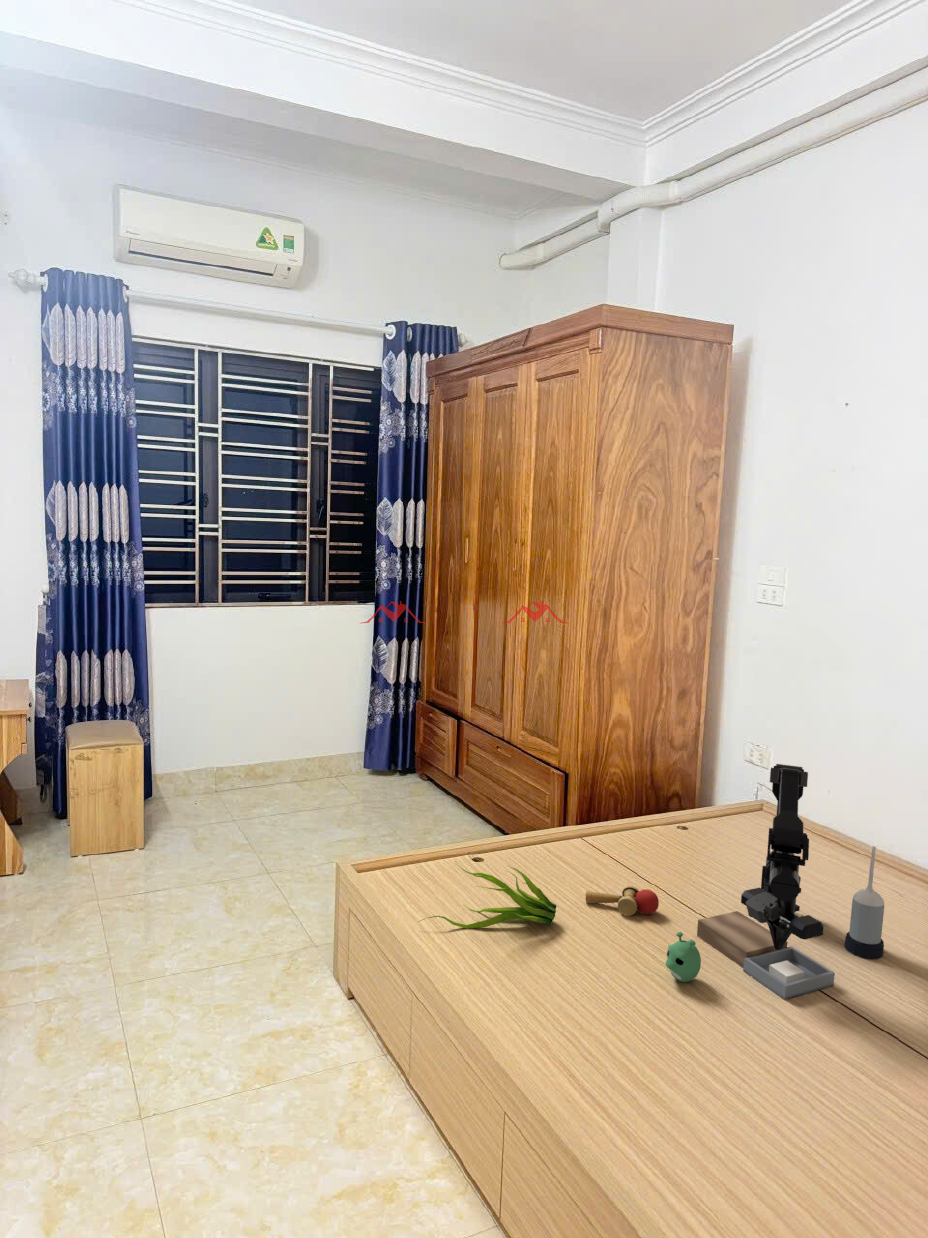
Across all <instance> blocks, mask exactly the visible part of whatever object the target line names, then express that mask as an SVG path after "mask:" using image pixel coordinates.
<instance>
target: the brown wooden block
mask: <svg viewBox="0 0 928 1238" xmlns="http://www.w3.org/2000/svg"><path fill="white" fill-rule="evenodd" d="M696 936H697V937H698V938H699V939H701V940H703V941H704V942H705V943H706V944H708V945H709V944H710V945H709V946H711V947H713V949H715V950H716V951H718V952H719V953H721V954H723V955H724V956H725V957H727V958H729V959H730V960H731V961H733V962H734V963H735V964H737V965H738V966H739V967H741V968H743V967H744V958H747V957H751V956H755V955H759V954H763V953H767V952H771V951H775V950H776V949H775V948H774V944H773V941H772V937H771V933H770V930H769V929H767V928H766V927H764V926H762V925H761V924H759V922H756V921H754V920H752V919H751V918H750V917H749V916H746V915H744V914H743V913H741V912H739V911H738V910H736V911H732V912H731V911H730V912H726V913H723V914H722V913H721V914H718V915H713V916H710V917H705V918H701V919H698V920H697V929H696ZM787 947H788V940H787V941H786V942H785V944H784V945H783V947H782V948H781V949H783V948H787Z"/></svg>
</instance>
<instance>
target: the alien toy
mask: <svg viewBox="0 0 928 1238" xmlns="http://www.w3.org/2000/svg"><path fill="white" fill-rule="evenodd" d="M675 937H678V940H676V941H675V942H673V944H668V947H667V949H668V950H667V951H666V956H667V957H666V961H665V966H666V967H667V968H668V969H669V971H670V974H671V976H672V977H673V978H674V979H675V980H677V981H679V982H683V983H687V982H691V981H693V980H695V978H696V977H697V976H698V974H699V973H700V970H701V967H702V960H701V958H702V957H701V954H700V951H699V949H698V948H697V946H696V942H695V940H693V939H689V940H684V939H682V937H684V933H683V932H682V931H677V932H676V934H675Z"/></svg>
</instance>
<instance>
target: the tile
mask: <svg viewBox="0 0 928 1238" xmlns="http://www.w3.org/2000/svg"><path fill="white" fill-rule="evenodd" d="M769 973H771V974H772V975H773V976H775V977H776V978H778V979H779V980H781V981H782V982H784V983H785V984H787V983H790V982H794V981H797V980H801V979H804V971H802V970H801V969H799V968H798V967H796V966H795V965H793V964H792V963H790V962H788V961H783V962H779V963H775V964H771V965H769Z"/></svg>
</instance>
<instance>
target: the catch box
mask: <svg viewBox="0 0 928 1238" xmlns="http://www.w3.org/2000/svg"><path fill="white" fill-rule="evenodd" d="M783 961H788V962H790V963H792V964H793V965H795V966H796V967H798V968H799V969H801V970H802V971H804V979H801V980H797V981H794V982H790V983H787V984H785V983H784V982H782V981H781V980H779V979H778V978H776V977H775V976H773V975H772V974H771V973H769V965H771V964H775V963H779V962H783ZM742 968H743V969H742V972H744V973H745V974H746V973H747V974H746V975H748V976H749V975H750V977H751V976H752V977H753V978H752V977H751V978H752V979H754V980H755V979H756V980H757V981H756V982H758V983H759V984H761V985H762V986H764V987H766V989H768V990H769V991H771V992H773V993H774V994H775V995H777V996H778V997H780V998H781V1000H782V999H783V1000H784V1001H786V1000H790V999H793V998H796V997H799V996H804V995H808V994H810V993H813V992H814V993H815V992H818V991H821V990H824V989H828V988H831V987H833V986H834V984H835V974H836V973H835V972H834V971H832V970H831V969H830V968H828V967H826V966H825V965H823V964H822V963H820V962H818V961H817V960H816V959H814V958H812V957H810V956H808V955H807V954H805V953H804V952H802V951H800V950H799V949H797V948H795V947H794V946H792V945H790V946H787V948H783V949H781V950H775V951H771V952H767V953H763V954H759V955H755V956H751V957H747V958H744V967H742Z"/></svg>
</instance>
